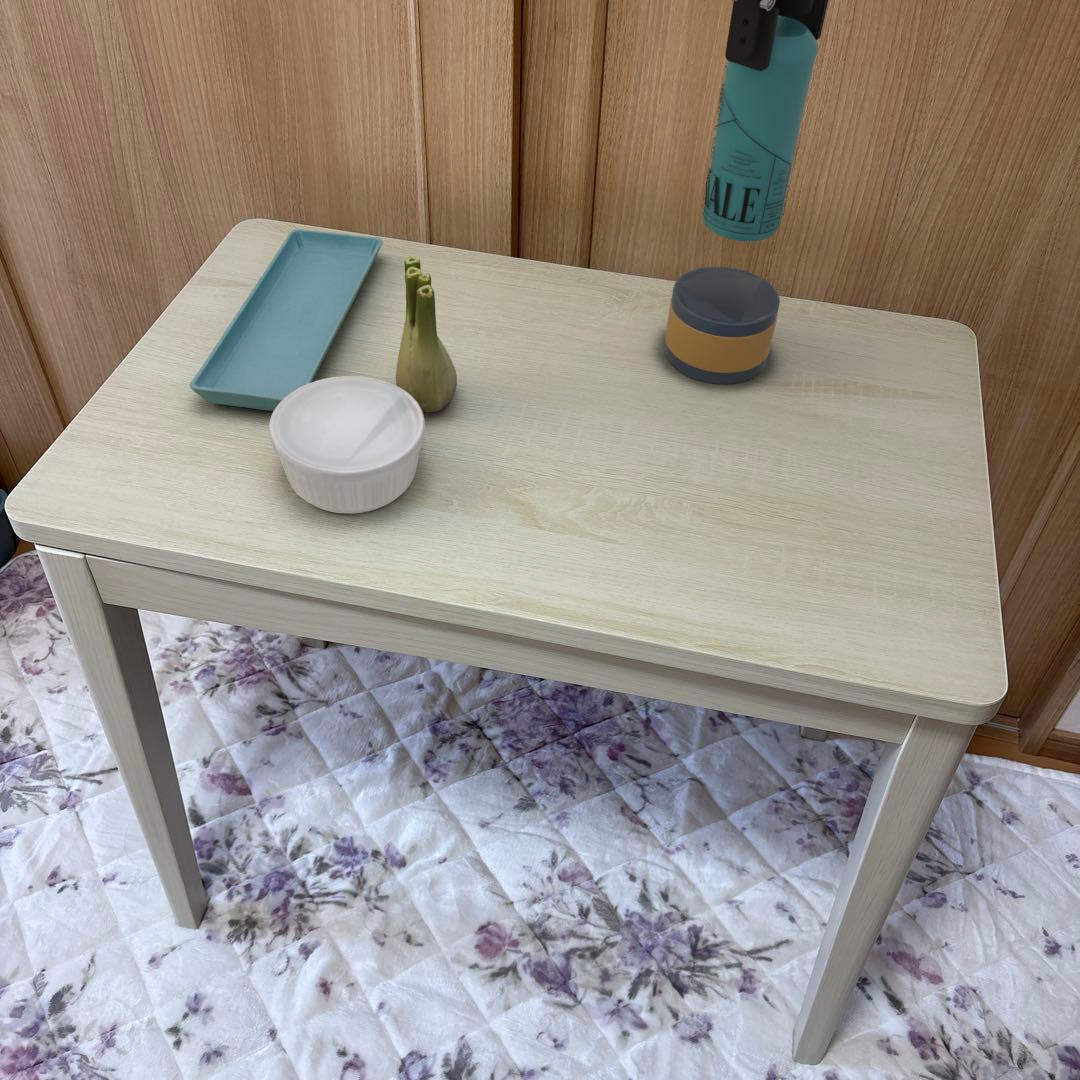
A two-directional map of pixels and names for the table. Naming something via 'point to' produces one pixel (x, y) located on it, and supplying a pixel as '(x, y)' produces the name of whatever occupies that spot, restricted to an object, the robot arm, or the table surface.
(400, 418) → the ramekin
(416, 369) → the fennel bulb
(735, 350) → the tin can
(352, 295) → the shallow long dish
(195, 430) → the table surface
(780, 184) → the beverage bottle
